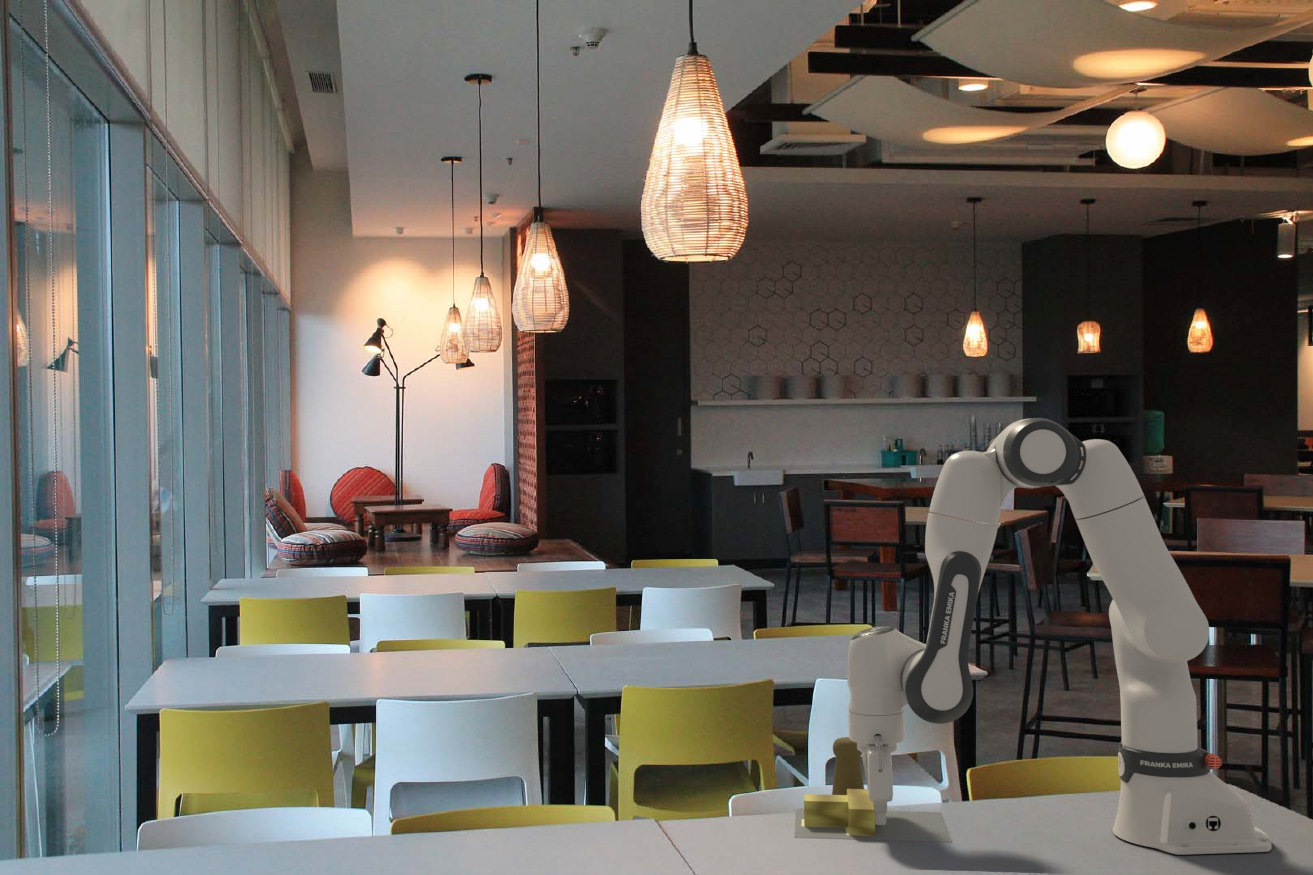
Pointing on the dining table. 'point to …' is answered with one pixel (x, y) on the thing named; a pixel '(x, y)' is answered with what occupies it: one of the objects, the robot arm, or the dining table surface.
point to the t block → (841, 811)
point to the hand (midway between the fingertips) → (878, 814)
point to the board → (885, 828)
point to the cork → (846, 766)
